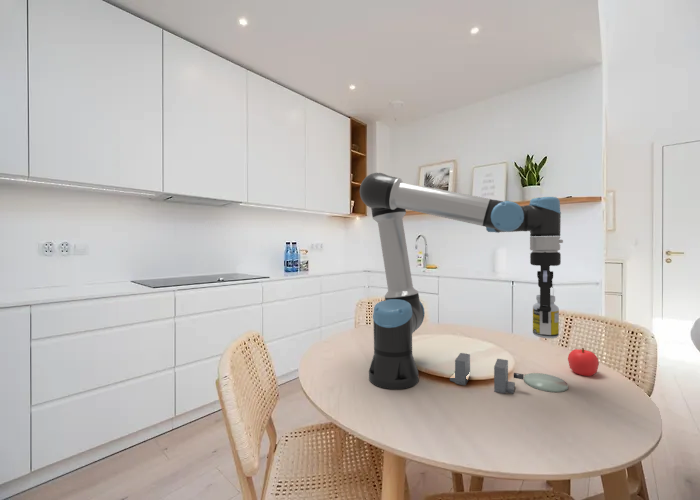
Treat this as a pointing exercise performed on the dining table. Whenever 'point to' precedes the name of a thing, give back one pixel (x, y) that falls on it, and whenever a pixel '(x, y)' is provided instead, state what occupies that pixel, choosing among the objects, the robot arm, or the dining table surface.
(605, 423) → the dining table surface
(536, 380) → the pale green round disc
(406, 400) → the dining table surface
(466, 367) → the vise
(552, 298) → the pill bottle
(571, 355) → the apple
